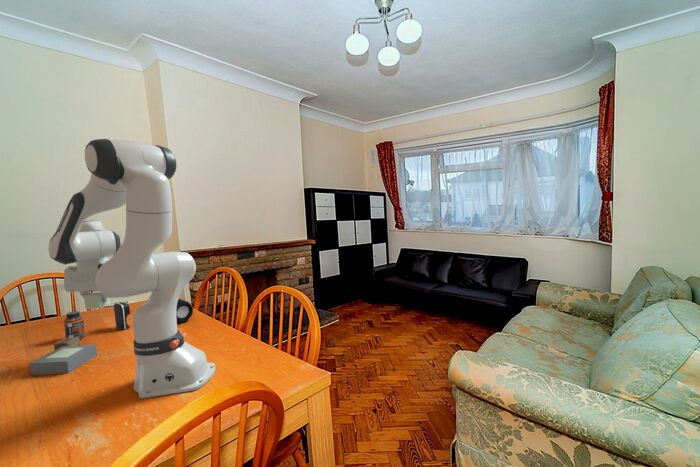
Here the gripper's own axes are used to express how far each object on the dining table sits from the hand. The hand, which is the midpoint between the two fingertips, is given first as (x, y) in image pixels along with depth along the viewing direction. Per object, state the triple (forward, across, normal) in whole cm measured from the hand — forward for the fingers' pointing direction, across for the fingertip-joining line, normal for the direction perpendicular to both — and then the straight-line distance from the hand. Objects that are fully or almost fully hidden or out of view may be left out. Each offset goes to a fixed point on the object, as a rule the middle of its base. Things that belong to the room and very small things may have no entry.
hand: (97, 302), depth 115 cm
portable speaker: (+20, +7, +34) cm, 40 cm away
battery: (+19, -9, +23) cm, 31 cm away
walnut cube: (+19, -13, 0) cm, 23 cm away
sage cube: (+2, 0, 0) cm, 2 cm away
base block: (+19, -6, -9) cm, 22 cm away
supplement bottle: (+19, -21, +13) cm, 32 cm away
